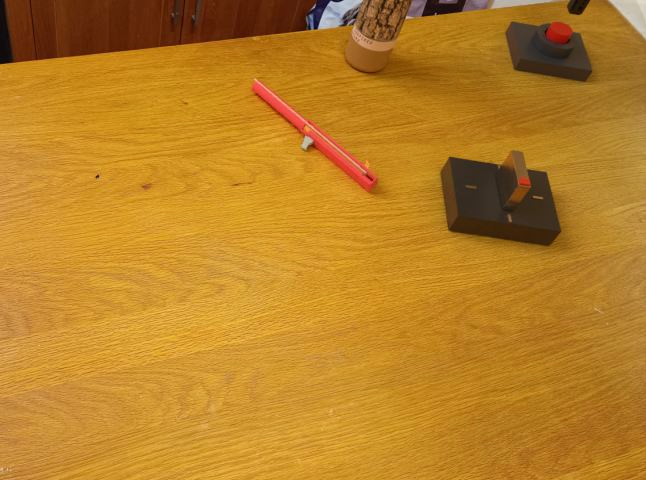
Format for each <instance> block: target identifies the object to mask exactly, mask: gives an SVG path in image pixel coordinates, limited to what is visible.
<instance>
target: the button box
mask: <svg viewBox="0 0 646 480" xmlns="http://www.w3.org/2000/svg"><path fill="white" fill-rule="evenodd" d="M551 24H552V23H550V22H548V23H542V24H540V25H537V24H536V25H535V24H531V23H530V24H529V23H525V22H517V21H513V20H512V21H511V22H510V23H509V25H508V26H507V28H506V30H505V38H506V43H507V46H508V51H509V55H510V58H511V61H512V62H511V63H512V66H513V70H514V71H517V72H523V73H528V74H529V73H530V74H535V75H542V76H546V77H554V78H560V79H565V80H571V81H577V82H582V83H586V81H587V80H588V78H589V77H590V76H591V74H592V73H593V72H594V70H593V67H592V64H591V61H590V58H589V56H588V52H587V49H586V46H585V44H584V40H583V37H582V34H581V33H580V32H576V31H573V33H572V35H571V37H570V38H569V40H568V41H567V43H566V44H558V43H555V42H553V41H551V40H549V39H548V38H547V37H546V32H547V30H548V29H549V27H550V25H551Z"/></svg>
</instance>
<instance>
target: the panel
mask: <svg viewBox="0 0 646 480" xmlns="http://www.w3.org/2000/svg"><path fill="white" fill-rule="evenodd" d="M501 165H502V164H501V163H492V162H487V161H480V160H475V159H474V160H473V159H468V158H461V157H456V156H448V158H447V160H446V162H445V163H444V165H443V167H442V168H441V171H440V179H441V186H442V192H443V199H444V200H443V201H444V207H445V208H444V209H445V216H446V221H447V222H446V223H447V227H448V228H447V230H448V231H450V232H455V233H463V234H468V235H476V236H482V237H488V238H494V239H501V240H507V241H513V242H514V241H515V242H520V243H527V244H533V245H541V246H546V247H550V246H551V245H552V244H553V242H554V241H555V240H556V239H557V238H558V236H559V235H560V234H561V233H562V228H561V223H560V219H559V215H558V211H557V208H556V203H555V199H554V195H553V191H552V187H551V183H550V180H549V176H548V172H547V171H543V170H537V169H536V170H535V169H530V168H527V172H528V176H529V179H530V184H531V188H530V189H529V191H528V192H527V193H526V195H525V196H524V197H523V199H522V200H521V202H520V203H519V204H518V206H517V207H516V208H515V210H514V211H509V210H503V209H502V206H501V201H500V196H499V190H498V185H497V180H496V173H497V171H498V170H499V168H500V167H501Z"/></svg>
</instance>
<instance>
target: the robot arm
mask: <svg viewBox="0 0 646 480" xmlns="http://www.w3.org/2000/svg"><path fill="white" fill-rule="evenodd" d="M590 2H591V0H569V2H568V3H567V5H566V9H567V11H568V14H570V15H574V16H581V15H582V14H583V13H584V12H585V10H586V8H587V7H588V5H589V3H590Z"/></svg>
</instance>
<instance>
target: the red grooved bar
mask: <svg viewBox="0 0 646 480" xmlns="http://www.w3.org/2000/svg"><path fill="white" fill-rule="evenodd" d="M253 81H254V82H253V84H252V87H251V90H252V91H253V92H254V93H255V94H257V95H258V96H259V97H261V98H262V99H263V100H264V101H265V102H266V103H267V104H269V105H270V106H271V107H272V108H273V109H274V110H276V111H277V112H278V113H279V114H281V116H283V118H285V119H286V120H287V121H289V122H290V123H291V124H292V125H293V126H295V127H296V128H297V130H299V132H300V133H302V134H303V135H304V138H303V141H302V144H301V146H300V148H301V150H303V151H304V152H306V151H307V149H308V148H309V146H311V145H312V146H313V147H315V148H316V149H317V150H318V151H319V152H320V153H322V154H323V155H324V156H325V157H326V158H327V159H329V160H330V161H331V162H332V163H333V164H335V166H337V167H338V168H339V169H340V170H342V171H343V172H344V173H345V174H346V175H348V176H349V177H350V178H351V179H352V180H353V181H355V182H356V183H357V184H358V185H359V186H361V188H363V189H364V190H365V191H366V192H368V193H369V192H370V191H372V189H373V188H374V187H375V186H376V185H377V184H378V180H379V177H378V176H377V175H376V174H375V173H374V172H372V171H371V170H370V169H369V167H370V163H369V161H368V160H367V159H365V160H364V163H365V164H363V163H362V162H361V161H359V160H358V159H357V158H356V157H355V156H353V155H352V154H351V153H350V152H349V151H347V150H346V149H345V148H344V147H342V146H341V145H340V144H339V143H338V142H336V141H335V140H334V139H333V138H332V137H331V136H329V135H328V134H327V133H326V132H325V131H324V130H322V128H320V126H318V125H316V124H315V123H314V122H313V121H312V120H310V119H306V118H305V116H303V115H302V114H301V113H299V112H298V111H297V109H296V110H295V108H294V107H292V106H291V105H290V104H289V103H287V102H286V100H284V99H283V98H281V97H280V96H279V94H276V92H274V91H273V90H272V89H271V88H270V87H268V86H267V85H266V84H265V83H264V82H263V81H262V80H260V79H256V78H253Z"/></svg>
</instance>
